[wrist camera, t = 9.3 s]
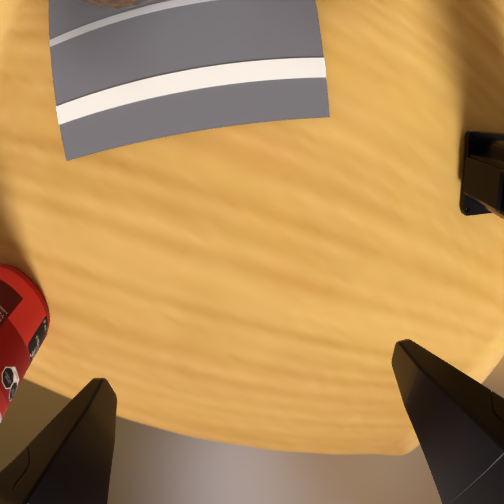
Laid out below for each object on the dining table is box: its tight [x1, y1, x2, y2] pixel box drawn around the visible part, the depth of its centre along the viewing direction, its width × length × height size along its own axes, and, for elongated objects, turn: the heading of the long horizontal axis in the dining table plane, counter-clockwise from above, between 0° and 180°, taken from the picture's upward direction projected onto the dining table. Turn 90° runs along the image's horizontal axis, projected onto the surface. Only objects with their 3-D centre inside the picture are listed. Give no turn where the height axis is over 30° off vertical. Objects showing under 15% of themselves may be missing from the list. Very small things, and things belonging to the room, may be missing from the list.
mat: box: [49, 0, 330, 161], centre depth 13 cm, size 16×16×1 cm
